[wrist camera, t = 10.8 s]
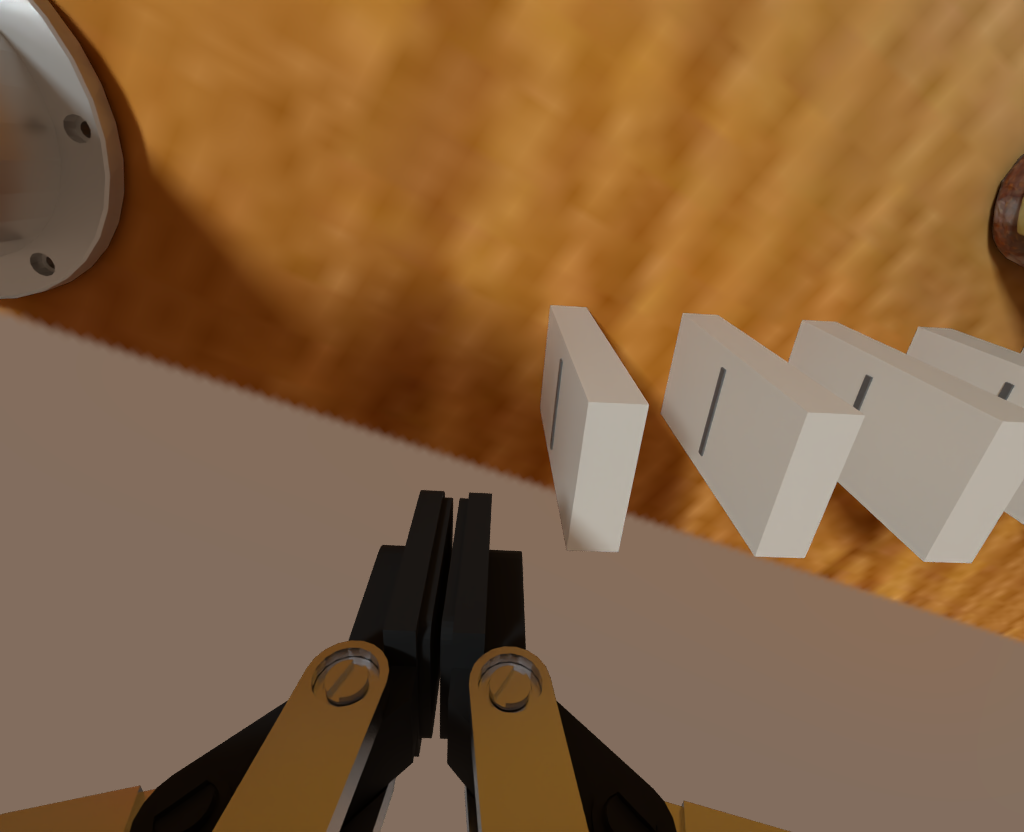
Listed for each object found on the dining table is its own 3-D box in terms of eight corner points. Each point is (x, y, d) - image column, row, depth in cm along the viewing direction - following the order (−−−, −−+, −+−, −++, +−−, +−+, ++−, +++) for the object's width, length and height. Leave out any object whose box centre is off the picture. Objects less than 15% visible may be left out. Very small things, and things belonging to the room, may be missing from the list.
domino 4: (874, 423, 25) (1083, 566, 16) (916, 326, 23) (1186, 430, 14) (906, 425, 25) (1131, 568, 16) (951, 328, 23) (1241, 433, 14)
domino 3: (768, 418, 25) (921, 561, 16) (800, 319, 23) (1000, 421, 14) (800, 420, 25) (971, 563, 16) (836, 321, 23) (1057, 424, 14)
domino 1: (538, 407, 24) (564, 550, 15) (548, 305, 22) (585, 401, 13) (572, 409, 24) (618, 552, 15) (586, 307, 22) (649, 404, 13)
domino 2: (659, 413, 25) (752, 556, 16) (681, 313, 22) (805, 412, 13) (692, 415, 25) (804, 558, 16) (718, 315, 22) (865, 415, 13)
